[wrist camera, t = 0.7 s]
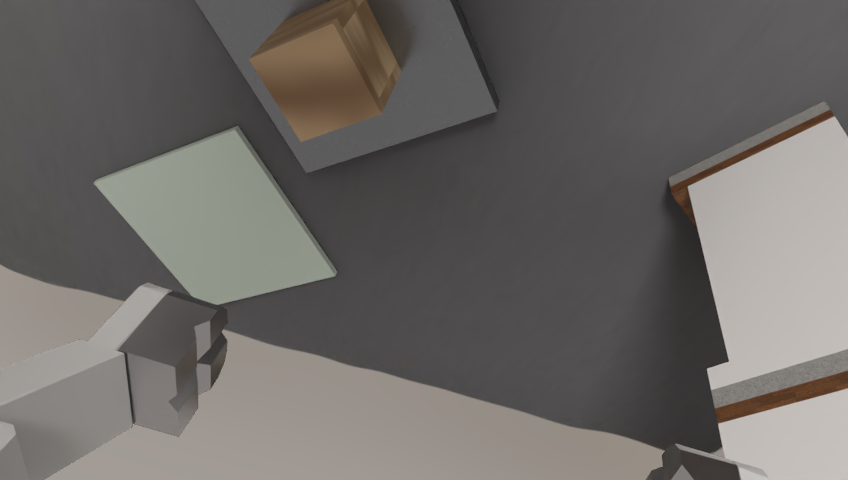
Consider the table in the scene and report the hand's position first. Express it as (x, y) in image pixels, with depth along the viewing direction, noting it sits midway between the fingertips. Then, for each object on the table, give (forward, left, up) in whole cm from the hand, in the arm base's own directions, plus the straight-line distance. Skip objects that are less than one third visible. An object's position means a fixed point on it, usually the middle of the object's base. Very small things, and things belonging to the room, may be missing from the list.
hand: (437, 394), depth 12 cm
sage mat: (+13, -34, -34) cm, 50 cm away
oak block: (+2, -14, -33) cm, 36 cm away
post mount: (+2, -14, -34) cm, 37 cm away
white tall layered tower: (+24, +10, -35) cm, 44 cm away
